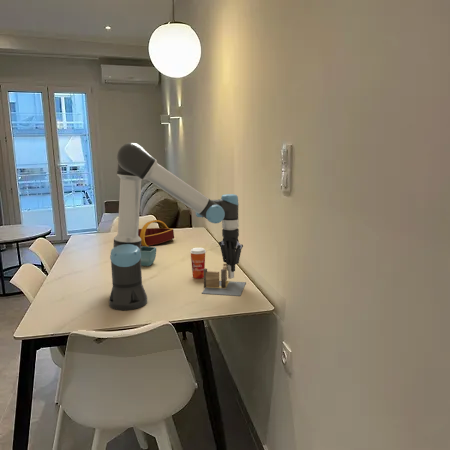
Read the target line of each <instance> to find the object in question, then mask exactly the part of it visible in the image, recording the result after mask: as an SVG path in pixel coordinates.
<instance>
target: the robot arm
mask: <svg viewBox="0 0 450 450" xmlns="http://www.w3.org/2000/svg"><path fill="white" fill-rule="evenodd" d="M116 161H117V166H116V167H117V168H116V175H117V177H118V178H119V179H120V180H119V199H118V200H119V201H118V202H119V203H118V204H119V205H118V221H117V235H115V236H114V237H113V247H112V249H111V250H110V257H109V259H110V265H111V278H112V279H111V280H112V283H111V285H112V288H111V292H110V294H109V299H108V303H109V305H108V306H109V307H110V308H111V309H112V310H118V311H131V310H136V309H139V308H142V307H144V306H146V304H147V303H148V296H147V292H146V291H145V290H146V289H145V288H144V285H143V279H142V277H143V276H142V266H141V247H142V246H141V238H140V237H139V236H138V229H140V228H139V226H140V225H139V224H140V207H141V190H142V181H144V180H146V181H148V182H150V183H152V184H153V185H155V186H156V187H158V188H159V189H161V191H162V190H163V191H164V192H166V193H167V194H168V195H170V196H171V197H173V198H174V199H176V200H177V201H179V202H180V203H182V204H183V205H185V206H186V207H188V208H190V209H191V210H193V211H194V213H195V217H197V218H202V219H203V218H204V219H206V221H208V222H210V223H212V224H219V223H221V228H222V230H221V231H222V232H221V234H222V240H221V241H218V244H219V247H220V252H221V255H222V261H223V263H224V264H227V279H229V280H230V279H234V278H235V272H236V265H237V264H239V263H240V259H241V253H242V249H243V247H244V245H243V244H241V243H240V241H239V235H240V234H239V233H240V229H239V226H240V225H239V224H240V223H239V205H240V204H239V196H238V195H237V194H235V193H227V194H222V195H221V198H220V199H210V198H208V197H207V196H206V195H204V194H203V193H201V191H198V190H197V189H196V188H194V187H193V186H191V185H190V184H188V183H187V182H185V181H184V180H183V179H181V178H179V177H178V176H177V175H175V174H174V173H172V172H171V171H169V169H168V170H167V169H166V168H165V167H163V166H162V165H161V164H159V163H158V161H157V159H156V158H154V157H153V156H152V155H151V154H149V153H148V152H147V151H146V150H145V148H144V147H143V146H142V145H141V144H139V143H136V142H126V143H124V144H122V145H121V146H120V147H119V149H118V150H117V154H116Z"/></svg>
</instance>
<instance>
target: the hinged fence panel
mask: <svg viewBox="0 0 450 450" xmlns="http://www.w3.org/2000/svg"><path fill="white" fill-rule="evenodd" d="M222 269H225V270H226V281H228V280H227V279H228V271H227V264H226V263H223V265H222Z"/></svg>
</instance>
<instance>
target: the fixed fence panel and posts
mask: <svg viewBox="0 0 450 450" xmlns="http://www.w3.org/2000/svg"><path fill="white" fill-rule="evenodd" d="M220 277H221V278H220ZM219 281H221V288H225V287H226V281H227V280H226V270H225V269H223V268H222V269H221V270H220V271H213V270H212V271H211V270H208V268H205V269H204V278H203V288H205V287H219Z"/></svg>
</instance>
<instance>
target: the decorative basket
mask: <svg viewBox="0 0 450 450" xmlns="http://www.w3.org/2000/svg"><path fill="white" fill-rule="evenodd" d="M153 223H155V224H158V225H159V226H160V227H151V228H150V227H149V226H150V224H153ZM148 227H149V228H148ZM138 236H139V237H140V238H141V247H150V246H153V245H159V244H162V243H166V242H168V241H171V240H173V239H175V232H174V228H169V227H168V226H167V224H166V223H165V222H164V221H162V220H159V219H153V220H150V221H148V222H146V223H145V224H144V225H142V228H138ZM149 245H150V246H149Z"/></svg>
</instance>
